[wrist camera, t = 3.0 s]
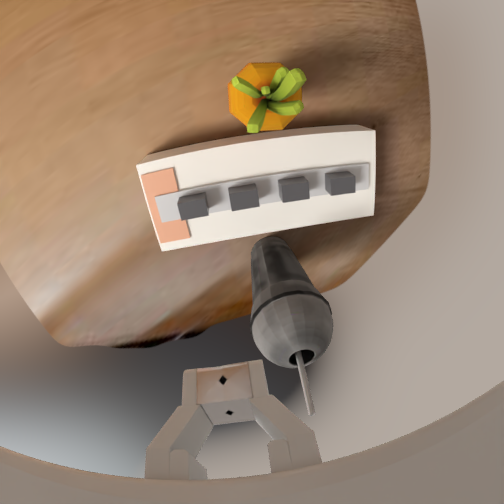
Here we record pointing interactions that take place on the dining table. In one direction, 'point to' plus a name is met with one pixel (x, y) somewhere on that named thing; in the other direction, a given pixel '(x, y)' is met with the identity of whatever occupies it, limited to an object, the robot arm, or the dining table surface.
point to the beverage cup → (287, 310)
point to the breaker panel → (259, 183)
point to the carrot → (266, 96)
